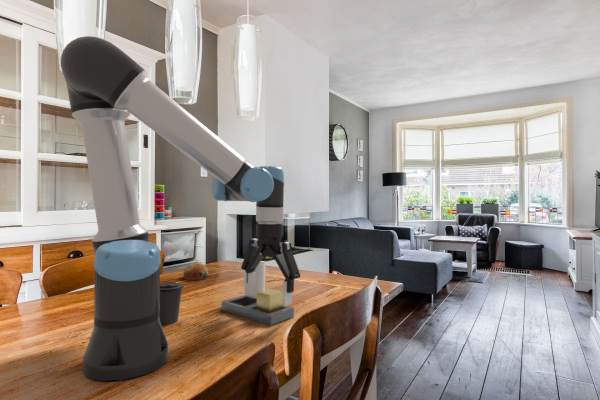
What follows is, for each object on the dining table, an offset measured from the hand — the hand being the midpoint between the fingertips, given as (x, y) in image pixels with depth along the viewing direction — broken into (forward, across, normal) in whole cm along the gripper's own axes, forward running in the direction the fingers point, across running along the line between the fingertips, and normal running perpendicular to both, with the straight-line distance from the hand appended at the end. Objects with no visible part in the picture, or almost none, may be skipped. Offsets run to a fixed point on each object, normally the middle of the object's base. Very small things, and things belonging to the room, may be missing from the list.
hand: (268, 299), depth 99 cm
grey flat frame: (+5, +5, 0) cm, 7 cm away
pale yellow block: (+5, 0, 0) cm, 5 cm away
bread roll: (+5, +56, -16) cm, 58 cm away
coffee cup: (+5, +18, +20) cm, 27 cm away
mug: (+5, +15, -10) cm, 18 cm away
